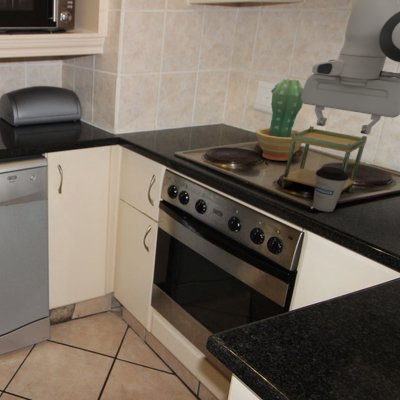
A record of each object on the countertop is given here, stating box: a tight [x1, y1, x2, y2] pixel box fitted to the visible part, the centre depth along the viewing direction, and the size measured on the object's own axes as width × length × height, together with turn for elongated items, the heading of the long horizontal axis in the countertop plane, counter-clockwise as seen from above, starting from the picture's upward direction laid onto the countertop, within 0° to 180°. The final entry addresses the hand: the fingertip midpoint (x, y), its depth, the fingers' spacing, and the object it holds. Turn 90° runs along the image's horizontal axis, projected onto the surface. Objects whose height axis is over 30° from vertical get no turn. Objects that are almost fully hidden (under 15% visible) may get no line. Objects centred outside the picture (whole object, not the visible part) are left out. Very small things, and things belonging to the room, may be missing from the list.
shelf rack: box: [280, 125, 368, 193], centre depth 128 cm, size 14×12×16 cm
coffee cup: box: [312, 166, 349, 213], centre depth 117 cm, size 7×7×10 cm
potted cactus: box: [255, 78, 304, 162], centre depth 154 cm, size 15×15×25 cm
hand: (342, 129), depth 112 cm, fingers open, 8 cm apart
